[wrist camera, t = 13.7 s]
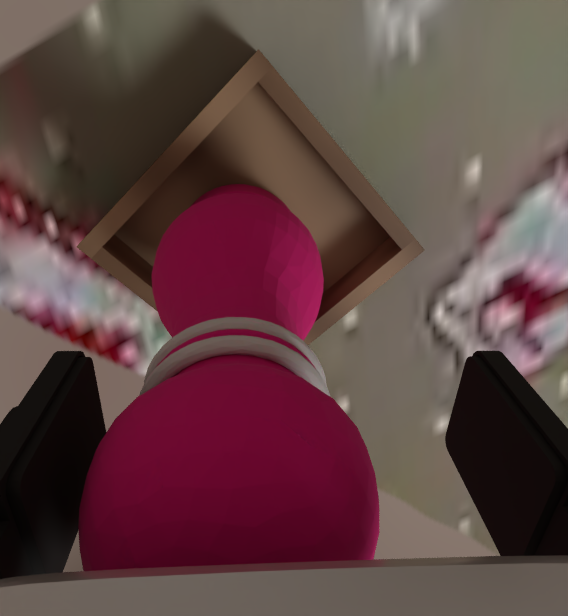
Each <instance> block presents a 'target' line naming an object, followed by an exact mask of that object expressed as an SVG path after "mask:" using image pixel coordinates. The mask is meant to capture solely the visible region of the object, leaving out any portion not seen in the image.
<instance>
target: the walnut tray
mask: <svg viewBox="0 0 568 616" xmlns="http://www.w3.org/2000/svg"><path fill="white" fill-rule="evenodd" d="M231 184H246V185H250V186H255V187H259V188H262V189H264V190H266V191H268V192H270V193H272V194H273V195H275V196H276V197H277V198H279V199H280V200H281V201H282V202H283V203H284V204H285V205H286V206H287V207H288V208H289V209H290V211H291V212H292V213H293V214H294V215H295V216H297V217H298V218H299V219H300V220H301V222H302V223H303V224H304V225H305V226H306V227H307V229H308V230H309V231H310V233H311V235H312V237H313V239H314V241H315V243H316V245H317V248H318V251H319V254H320V258H321V264H322V271H323V278H324V282H323V294H322V299H321V304H320V308H319V312H318V315H317V318H316V320H315V322H314V324H313V326H312V328H311V330H310V331H309V333H308V335H307V336H306V338H305V339H304V342H305V343H306V344H307V345H309V344H310V343H311V342H312V341H314V340H315V339H316V338H317V337H319V336H320V335H321V334H322V333H324V332H325V331H326V330H327V329H328V328H330V327H331V326H332V325H333V324H335V323H336V322H337V321H338V320H339V319H341V318H342V317H343V316H344V315H346V314H347V313H348V312H349V311H351V310H352V309H353V308H354V307H355V306H357V305H358V304H359V303H360V302H362V301H363V300H364V299H365V298H367V297H368V296H369V295H370V294H371V293H373V292H374V291H375V290H376V289H378V288H379V287H380V286H381V285H382V284H384V283H385V282H386V281H387V280H389V279H390V278H391V277H392V276H394V275H395V274H396V273H397V272H398V271H400V270H401V269H402V268H403V267H405V266H406V265H407V264H408V263H409V262H411V261H412V260H413V259H414V258H416V257H417V256H418V255H419V254H421V253H422V252H423V251H424V249H423V247H422V246H421V245H420V244H419V242H418V241H417V240H416V239H415V238H414V236H413V235H412V234H411V233H410V232H409V230H408V229H407V228H406V227H405V226H404V224H403V223H402V222H401V221H400V220H399V218H398V217H397V216H396V215H395V214H394V212H393V211H392V210H391V209H390V207H389V206H388V205H387V204H386V203H385V201H384V200H383V199H382V198H381V197H380V195H379V194H378V193H377V192H376V191H375V189H374V188H373V187H372V186H371V185H370V183H369V182H368V181H367V180H366V179H365V177H364V176H363V175H362V174H361V172H360V171H359V170H358V169H357V168H356V166H355V165H354V164H353V163H352V162H351V160H350V159H349V158H348V157H347V156H346V154H345V153H344V152H343V151H342V150H341V148H340V147H339V146H338V145H337V143H336V142H335V141H334V140H333V139H332V137H331V136H330V135H329V134H328V133H327V131H326V130H325V129H324V128H323V127H322V125H321V124H320V123H319V122H318V121H317V119H316V118H315V117H314V116H313V115H312V113H311V112H310V111H309V110H308V108H307V107H306V106H305V105H304V104H303V102H302V101H301V100H300V99H299V98H298V96H297V95H296V94H295V93H294V92H293V90H292V89H291V88H290V87H289V86H288V84H287V83H286V82H285V81H284V79H283V78H282V77H281V76H280V75H279V73H278V72H277V71H276V70H275V69H274V67H273V66H272V65H271V64H270V63H269V61H268V60H267V59H266V58H265V57H264V55H263V54H262V53H261V52H260V51H259V49H258V51H257V52H256V53H255V54H254V55H253V56H252V57H251V58H250V59H249V60H248V61H247V62H246V64H245V65H244V66H243V67H242V68H241V69H240V70H239V71H238V72H237V73H236V74H235V75H234V77H233V78H232V79H231V80H230V81H229V82H228V83H227V84H226V85H225V86H224V87H223V88H222V90H221V91H220V92H219V93H218V94H217V95H216V96H215V97H214V98H213V99H212V100H211V101H210V103H209V104H208V105H207V106H206V107H205V108H204V109H203V110H202V111H201V112H200V113H199V114H198V116H197V117H196V118H195V119H194V120H193V121H192V122H191V123H190V124H189V125H188V126H187V127H186V129H185V130H184V131H183V132H182V133H181V134H180V135H179V136H178V137H177V138H176V139H175V141H174V142H173V143H172V144H171V145H170V146H169V147H168V148H167V149H166V150H165V151H164V152H163V154H162V155H161V156H160V157H159V158H158V159H157V160H156V161H155V162H154V163H153V164H152V165H151V167H150V168H149V169H148V170H147V171H146V172H145V173H144V174H143V175H142V176H141V177H140V178H139V180H138V181H137V182H136V183H135V184H134V185H133V186H132V187H131V188H130V189H129V190H128V191H127V193H126V194H125V195H124V196H123V197H122V198H121V199H120V200H119V201H118V202H117V203H116V204H115V206H114V207H113V208H112V209H111V210H110V211H109V212H108V213H107V214H106V215H105V216H104V217H103V219H102V220H101V221H100V222H99V223H98V224H97V225H96V226H95V227H94V228H93V229H92V230H91V232H90V233H89V234H88V235H87V236H86V237H85V238H84V239H83V240H82V241H81V242H80V243H79V245H78V246H77V248H79V249H80V250H81V251H82V252H84V253H85V254H86V255H87V256H89V257H90V258H91V259H92V260H94V261H95V262H96V263H97V264H99V265H100V266H101V267H102V268H104V269H105V270H106V271H108V272H109V273H110V274H111V275H113V276H114V277H115V278H116V279H118V280H119V281H120V282H121V283H123V284H124V285H125V286H126V287H128V288H129V289H130V290H131V291H133V292H134V293H135V294H136V295H138V296H139V297H140V298H141V299H143V300H144V301H145V302H147V303H148V304H149V305H150V306H152V307H153V308H154V309H155V310H157V308H156V304H155V300H154V296H153V291H152V270H153V266H154V261H155V256H156V252H157V248H158V246H159V244H160V241H161V239H162V236H163V234H164V233H165V232H166V230H167V229H168V227H169V226H170V225H171V223H172V222H173V221H174V220H175V219H176V218H177V217H178V216H179V215H180V214H181V213H182V212H184V211H185V210H187V209H188V208H189V207H190V206H191V205H192V204H193V203H194V202H195V201H196V200H197V199H198V198H199V197H200V196H202V195H203V194H205V193H206V192H208V191H210V190H213V189H215V188H218V187H221V186H225V185H231Z"/></svg>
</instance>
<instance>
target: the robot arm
mask: <svg viewBox="0 0 568 616" xmlns="http://www.w3.org/2000/svg"><path fill="white" fill-rule="evenodd" d="M105 434H106V429H105V424H104V419H103V413H102V408H101V402H100V398H99V392H98V387H97V381H96V376H95V371H94V366H93V361H92V359H91V358H90V357H85V355H84V353H83V352H81V351H57V352H55V353H54V354H53V356H52V357H51V359H50V360H49V362H48V363H47V365H46V366H45V368H44V369H43V370H42V372H41V373H40V375H39V376H38V378H37V379H36V381H35V382H34V384H33V385H32V387H31V388H30V389H29V391H28V392H27V394H26V395H25V397H24V398H23V400H22V401H21V403H20V404H19V406H17V407H15V408H13V409H12V410H11V411H10V412H9V413H8V414H7V415H6V417H5V418H4V420H3V421H2V423H1V424H0V616H568V428H567V427H566V426H565V425H564V424H563V423H562V421H561V420H560V419H559V418H558V417H557V416H556V415H555V413H554V412H553V411H552V410H551V409H550V408H549V406H548V405H547V404H546V403H545V402H544V401H543V399H542V398H541V397H540V396H539V395H538V394H537V393H536V391H535V390H534V389H533V388H532V387H531V386H530V384H529V383H528V382H527V381H526V380H525V379H524V377H523V376H522V375H521V374H520V373H519V372H518V370H517V369H516V368H515V367H514V366H513V365H512V364H511V362H510V361H509V360H508V359H507V358H506V357H505V355H504V354H503V353H502V352H500V351H476V352H475V353H474V354H473V356H472V357H468V358H467V360H466V362H465V366H464V370H463V373H462V377H461V381H460V384H459V388H458V392H457V395H456V399H455V403H454V406H453V410H452V414H451V418H450V421H449V425H448V429H447V432H446V437H445V441H446V447H447V450H448V452H449V454H450V456H451V458H452V460H453V462H454V464H455V466H456V468H457V470H458V472H459V474H460V476H461V478H462V480H463V482H464V484H465V486H466V488H467V490H468V492H469V494H470V496H471V498H472V500H473V502H474V504H475V505H476V507H477V509H478V511H479V513H480V515H481V517H482V519H483V521H484V523H485V525H486V527H487V529H488V531H489V533H490V535H491V537H492V539H493V541H494V543H495V545H496V547H497V549H498V551H499V553H500V555H501V556H486V557H450V558H416V559H415V558H414V559H381V560H380V559H379V560H349V561H319V562H290V563H261V564H235V565H209V566H184V567H159V568H133V569H115V570H98V571H80V572H64V573H63V569H64V567H65V564H66V562H67V559H68V556H69V553H70V551H71V548H72V546H73V543H74V540H75V537H76V535H77V532H78V525H79V508H80V503H81V499H82V494H83V490H84V485H85V481H86V476H87V473H88V471H89V468H90V465H91V462H92V460H93V457H94V454H95V452H96V449H97V447H98V445H99V443H100V442H101V440H102V439H103V437H104V436H105Z"/></svg>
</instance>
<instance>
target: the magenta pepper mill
mask: <svg viewBox="0 0 568 616" xmlns="http://www.w3.org/2000/svg"><path fill="white" fill-rule="evenodd" d="M323 282H324V278H323V271H322V264H321V258H320V254H319V251H318V248H317V245H316V243H315V241H314V239H313V237H312V235H311V233H310V231H309V230H308V229H307V227H306V226H305V225H304V224H303V223H302V222H301V220H300V219H299V218H298V217H297V216H295V215H294V214H293V213H292V212H291V211H290V209H289V208H288V207H287V206H286V205H285V204H284V203H283V202H282V201H281V200H280V199H279V198H277V197H276V196H275V195H273V194H272V193H270V192H268V191H266V190H264V189H262V188H259V187H255V186H250V185H246V184H231V185H225V186H221V187H218V188H215V189H213V190H210V191H208V192H206V193H205V194H203V195H202V196H200V197H199V198H198V199H197V200H196V201H195V202H194V203H193V204H192V205H191V206H190V207H189V208H188V209H187V210H185V211H184V212H182V213H181V214H180V215H179V216H178V217H177V218H176V219H175V220H174V221H173V222H172V223H171V225H170V226H169V227H168V229H167V230H166V232H165V233H164V234H163V236H162V239H161V241H160V244H159V246H158V248H157V252H156V256H155V261H154V266H153V270H152V291H153V296H154V300H155V304H156V308H157V311H158V313H159V316H160V319H161V321H162V323H163V324H164V326H165V327H166V329H167V331H168V332H169V333H170V335H171V336H172V339H170V340H169V341H168V342H167V343H166V344H165V345H163V346H162V348H161V349H160V350H159V351H158V353H157V354H156V355H155V356H154V358H153V360H152V361H151V363H150V365H149V367H148V370H147V373H146V376H145V380H144V386H143V388H142V390H141V392H140V395H139V396H138V397H137V398H136V399H135V400H134V401H133V402H132V403H131V404H130V405H129V406H128V407H127V408H126V409H125V410H124V411H123V412H122V413H121V414H120V415H119V416H118V417H117V418H116V419H115V420H114V422H113V423H112V425H111V427H110V428H109V430H108V431H107V432H106V434H105V436H104V437H103V439H102V440H101V442H100V443H99V445H98V447H97V449H96V452H95V454H94V457H93V460H92V462H91V465H90V468H89V471H88V473H87V476H86V481H85V485H84V490H83V494H82V499H81V503H80V508H79V525H78V529H79V543H80V553H81V559H82V565H83V570H84V571H98V570H115V569H133V568H159V567H184V566H209V565H235V564H261V563H290V562H319V561H349V560H373V558H374V554H375V549H376V545H377V540H378V536H379V499H378V491H377V484H376V477H375V472H374V469H373V466H372V463H371V460H370V457H369V454H368V450H367V447H366V445H365V443H364V441H363V439H362V437H361V435H360V432H359V430H358V428H357V426H356V425H355V424H354V423H353V422H352V420H351V419H350V418H349V417H348V416H347V415H346V413H345V412H344V411H343V410H342V409H341V407H340V406H339V405H338V404H337V403H336V401H335V400H334V399H333V398H331V397H330V394H329V391H328V388H327V385H326V378H325V374H324V371H323V368H322V366H321V364H320V362H319V360H318V358H317V356H316V355H315V354H314V352H313V351H312V350H311V349H310V347H309V346H308V345H307V344H306V343H305V342H304V339H305V338H306V336H307V335H308V333H309V331H310V330H311V328H312V326H313V324H314V322H315V320H316V318H317V315H318V312H319V308H320V304H321V299H322V294H323Z"/></svg>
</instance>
